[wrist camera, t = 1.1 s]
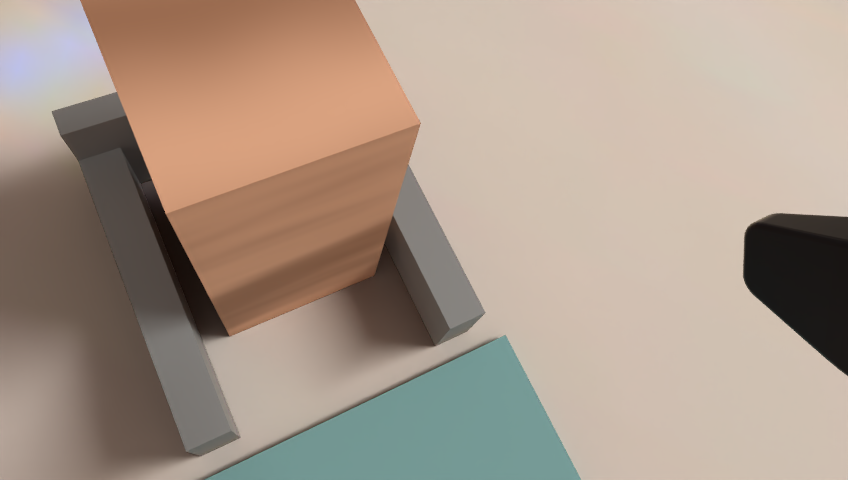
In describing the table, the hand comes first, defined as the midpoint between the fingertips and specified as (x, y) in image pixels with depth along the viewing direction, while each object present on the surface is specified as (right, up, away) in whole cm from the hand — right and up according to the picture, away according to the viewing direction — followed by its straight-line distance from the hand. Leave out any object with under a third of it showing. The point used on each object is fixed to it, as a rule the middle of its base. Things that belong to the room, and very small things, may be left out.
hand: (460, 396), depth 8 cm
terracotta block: (-5, +2, +14) cm, 15 cm away
